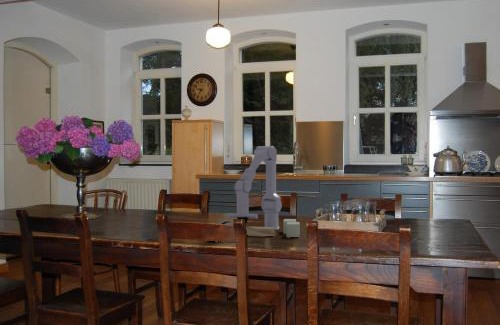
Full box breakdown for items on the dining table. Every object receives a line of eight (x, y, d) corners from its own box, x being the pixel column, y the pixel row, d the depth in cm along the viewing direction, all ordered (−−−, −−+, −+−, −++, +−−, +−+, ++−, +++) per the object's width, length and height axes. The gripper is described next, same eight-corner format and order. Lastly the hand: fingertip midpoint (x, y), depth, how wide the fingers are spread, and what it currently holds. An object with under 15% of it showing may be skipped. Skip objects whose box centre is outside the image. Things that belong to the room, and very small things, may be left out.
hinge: (223, 236, 233) (229, 217, 231) (231, 240, 231) (238, 221, 229) (206, 242, 217) (212, 221, 216) (214, 246, 215) (221, 225, 214)
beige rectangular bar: (247, 234, 238) (247, 226, 238) (275, 235, 235) (275, 227, 235) (245, 235, 235) (245, 227, 235) (273, 237, 231) (273, 228, 231)
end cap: (287, 234, 237) (287, 221, 237) (299, 234, 237) (299, 221, 237) (286, 237, 229) (286, 224, 229) (299, 237, 229) (299, 224, 229)
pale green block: (284, 231, 248) (284, 218, 247) (295, 231, 247) (295, 219, 247) (283, 233, 240) (283, 221, 239) (295, 234, 239) (295, 221, 239)
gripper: (226, 205, 233) (226, 233, 233) (256, 206, 231) (256, 234, 231) (229, 204, 240) (229, 231, 240) (258, 204, 238) (258, 232, 238)
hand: (242, 232), depth 236 cm, fingers closed
